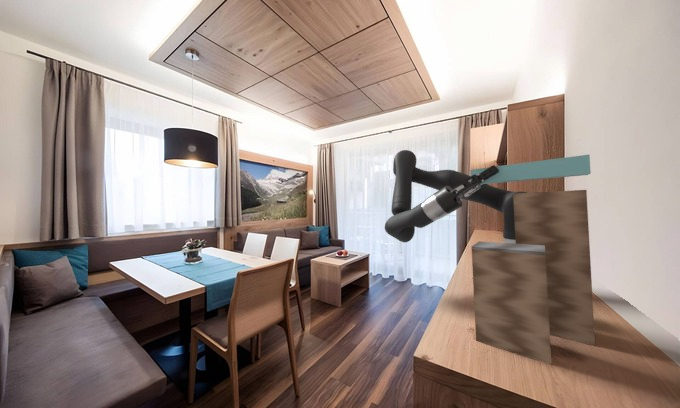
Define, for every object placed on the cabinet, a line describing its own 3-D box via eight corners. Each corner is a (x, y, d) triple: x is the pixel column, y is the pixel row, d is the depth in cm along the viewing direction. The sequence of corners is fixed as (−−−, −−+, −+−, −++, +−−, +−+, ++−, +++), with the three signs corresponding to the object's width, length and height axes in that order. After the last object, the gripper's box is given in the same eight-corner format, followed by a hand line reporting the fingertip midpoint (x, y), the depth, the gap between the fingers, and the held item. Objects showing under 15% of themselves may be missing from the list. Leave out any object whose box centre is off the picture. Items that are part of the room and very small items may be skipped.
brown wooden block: (476, 340, 49) (471, 246, 49) (482, 325, 55) (478, 241, 55) (551, 364, 41) (545, 252, 41) (549, 343, 47) (544, 245, 47)
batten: (471, 184, 61) (470, 169, 61) (474, 184, 64) (473, 171, 64) (590, 173, 47) (589, 154, 47) (587, 175, 50) (586, 157, 50)
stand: (519, 326, 54) (513, 193, 54) (521, 315, 59) (515, 194, 59) (595, 345, 46) (586, 189, 46) (589, 330, 51) (581, 190, 51)
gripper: (425, 193, 65) (484, 153, 55) (441, 194, 75) (493, 161, 65) (440, 215, 62) (504, 178, 52) (454, 213, 73) (510, 181, 63)
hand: (497, 169), depth 59 cm, fingers closed on batten, 4 cm apart
